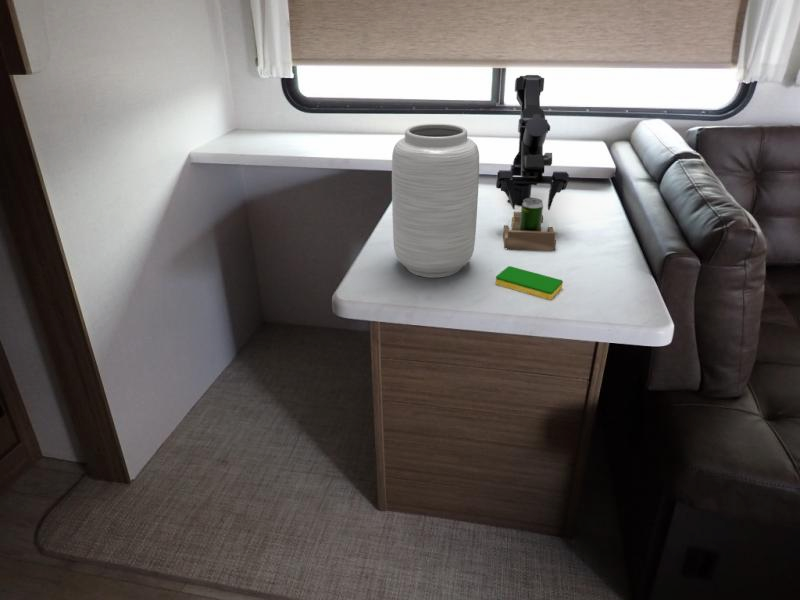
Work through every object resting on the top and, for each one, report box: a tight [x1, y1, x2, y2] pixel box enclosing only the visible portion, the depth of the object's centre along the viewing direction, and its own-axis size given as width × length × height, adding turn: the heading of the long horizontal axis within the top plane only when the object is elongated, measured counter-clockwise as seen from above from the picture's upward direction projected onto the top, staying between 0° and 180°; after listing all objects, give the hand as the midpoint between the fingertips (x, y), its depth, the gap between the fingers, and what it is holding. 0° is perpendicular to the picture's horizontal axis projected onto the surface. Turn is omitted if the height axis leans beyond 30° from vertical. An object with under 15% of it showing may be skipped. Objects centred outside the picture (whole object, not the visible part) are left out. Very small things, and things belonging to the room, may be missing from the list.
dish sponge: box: [495, 266, 564, 301], centre depth 134 cm, size 7×14×2 cm, turn 55°
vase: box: [391, 123, 480, 279], centre depth 137 cm, size 20×20×34 cm
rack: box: [502, 224, 557, 252], centre depth 155 cm, size 10×13×5 cm
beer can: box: [520, 197, 544, 231], centre depth 153 cm, size 5×5×12 cm
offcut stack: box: [510, 211, 544, 231], centre depth 163 cm, size 5×8×4 cm, turn 83°
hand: (531, 208), depth 153 cm, fingers open, 9 cm apart
